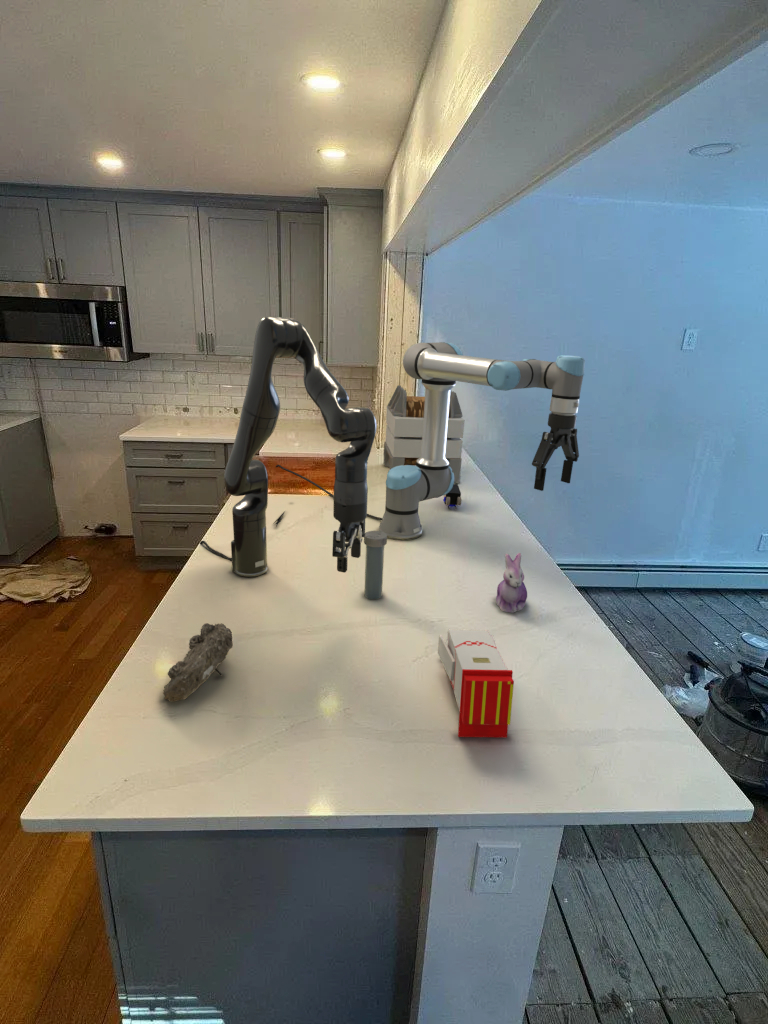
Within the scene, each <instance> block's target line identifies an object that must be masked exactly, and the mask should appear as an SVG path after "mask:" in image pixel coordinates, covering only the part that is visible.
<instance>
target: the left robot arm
mask: <svg viewBox="0 0 768 1024" xmlns="http://www.w3.org/2000/svg"><path fill="white" fill-rule="evenodd" d="M292 358H293V359H295V360H296V361H297V362H298V363H300V365H301V366H302V368H303V386H304V389H305V391H306V393H307V395H308V396H309V398H310V399H311V400H312V401H313V403H314V404H315V405H316V407H317V408H318V409H319V411H320V413H321V416H322V419H323V422H324V424H325V428H326V431H327V433H328V435H329V436H330V438H332V439H333V440H334V441H335V442H338V443H349V445H348V446H347V447H346V448H345V449H343V450H342V451H340V452H338V453H337V454H336V455H335V459H334V464H335V465H334V483H333V495H334V498H333V510H332V511H333V512H332V513H333V518H334V519H335V520H336V521H338V522H339V526H338V529H337V530H333V532H332V552H331V553H332V555H331V556H332V557H333V558H336V571H337V572H338V573H339V572H340V573H347V571H348V556H349V551H350V556H351V557H352V558H355V559H356V558H357V559H360V557H361V555H362V554H361V552H362V543H363V538H364V537H365V533H366V519H367V517H368V516H367V514H368V492H369V491H368V461H369V458H370V454H371V451H372V447H373V445H374V441H375V437H376V434H377V418H376V416H375V414H374V412H373V411H372V410H371V409H370V408H369V407H366V406H357V407H348V405H349V401H350V398H349V394H348V392H347V390H346V389H345V388H344V387H343V385H342V384H341V383H340V381H338V379H337V378H336V377H335V376H334V374H333V373H332V372H331V370H330V369H329V367H327V364H326V363H325V361H324V359H323V358H322V356H321V354H320V352H319V350H318V348H317V346H316V344H315V343H314V341H313V338H312V337H311V335H310V333H309V332H308V330H307V328H306V327H305V325H304V324H303V323H302V322H301V320H298V319H297V318H293V317H285V316H284V317H283V316H271V315H270V316H263V318H261V319H260V320H259V322H258V324H257V327H256V331H255V336H254V341H253V351H252V358H251V365H250V372H249V378H248V383H247V388H246V392H245V396H244V399H243V403H242V408H241V412H240V417H239V423H238V426H237V431H236V434H235V439H234V443H233V445H232V448H231V451H230V454H229V457H228V460H227V463H226V466H225V468H224V475H223V483H224V488H225V490H226V491H227V493H228V494H229V495H230V496H232V497H243V496H244V497H243V498H242V499H241V500H239V501H238V502H236V503H235V504H234V506H233V507H232V512H231V513H232V531H233V540H231V541H230V550H231V557H229V556H227V555H226V554H223V553H222V552H220V551H218V550H215V549H214V548H212V547H211V546H210V545H209V544H208V543H207V542H206V541H205V540H201V541H200V542H199V545H204V546H205V547H206V548H207V550H209V551H211V552H212V553H215V554H216V555H219V556H220V557H222V558H224V559H226V560H229V561H231V569H232V572H233V573H235V575H238V576H241V577H244V578H253V577H258V576H262V575H264V574H265V573H267V572H268V550H267V549H268V548H267V546H268V545H267V516H266V515H267V512H266V511H267V508H268V503H269V501H268V500H269V499H268V498H269V475H268V470H267V468H266V466H265V464H264V463H263V461H261V460H260V459H253V458H254V457H255V455H256V454H257V453H258V451H259V450H260V449H261V448H262V446H264V445H265V444H266V442H267V441H268V440H269V439H270V437H271V436H272V434H273V433H274V431H275V429H276V427H277V423H278V420H279V416H280V412H281V401H280V397H279V395H278V392H277V390H276V388H275V385H274V382H273V378H272V373H273V367H274V362H275V360H276V359H292Z"/></svg>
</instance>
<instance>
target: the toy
mask: <svg viewBox="0 0 768 1024" xmlns="http://www.w3.org/2000/svg"><path fill="white" fill-rule="evenodd" d="M446 640H447V643H446V641H445V639H444V636H443V635H442V634H439V637H438V646H437V656H438V657H439V659H440V661H441V663H442V666H443V668H444V670H445V672H446V674H447V677H448V679H449V681H450V684H451V687H452V690H453V693H454V697H455V701H456V705H457V708H458V711H459V714H458V715H459V716H458V730H457V731H458V732H457V737H458V738H508V731H509V726H510V725H511V717H512V707H513V697H514V696H513V695H514V684H515V680H514V679H513V673H514V671H513V670H512V669H508V667H507V665H506V662H505V661H504V659H503V658H502V655H501V653H500V651H499V649H498V647H497V643H496V639H495V637H494V635H493V634H491V632H490V631H489V629H467V628H466V629H465V628H463V629H461V628H460V629H459V628H448V630H447V639H446Z"/></svg>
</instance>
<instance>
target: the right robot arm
mask: <svg viewBox="0 0 768 1024" xmlns="http://www.w3.org/2000/svg"><path fill="white" fill-rule="evenodd" d="M585 365H586V360H585V358H584V357H582V356H578V355H566V354H565V355H564V354H563V355H558V356H557V357H556V360H555V361H549V360H541V359H536V358H524V359H521V360H506V359H505V360H504V359H503V360H502V359H496V358H487V357H479V356H471V355H464V354H463V352H462V350H461V349H460V347H459V346H457V345H456V344H455V343H451V342H445V341H443V342H442V341H441V342H440V341H439V342H438V341H437V342H417V343H414V344H412V345H411V346H409V347H408V348H407V350H406V351H405V353H404V355H403V358H402V366H403V369H404V372H405V373H406V374H407V375H408V376H409V377H411V378H412V379H415V380H421V385H422V386H423V387H424V389H425V392H424V397H425V404H424V419H423V434H422V449H421V457H420V458H418V459H417V461H416V466H413V465H401V466H396V467H394V468H392V469H390V468H389V470H388V472H387V474H386V479H385V504H384V505H385V507H384V508H385V509H384V513H383V515H382V517H378V516H376V515H372V514H369V513H367V517H368V518H370V519H373V520H377V521H381V522H379V526H378V531H381V532H384V533H386V535H387V539H389V540H395V541H410V540H415V539H418V538H420V537H421V536H422V535H423V525H422V524H421V518H420V515H419V507H420V506H419V505H420V502H423V501H427V500H431V499H437V498H440V497H444V495H445V494H447V493H448V492H449V491H450V490H451V489H452V487H453V484H455V483H454V473H452V469H451V467H450V466H449V462H448V461H447V459H446V458H445V453H446V441H447V428H448V416H449V404H450V392H451V391H452V389H453V388H454V387H455V386H456V384H457V382H461V383H465V384H473V385H479V386H487V387H491V388H492V389H494V390H496V391H503V392H504V391H511V390H520V389H532V388H533V389H534V388H539V389H546V390H551V398H550V404H549V413H548V418H547V419H548V420H547V426H548V427H549V428H550V431H549V432H548V431H543V432H542V435H541V440H540V442H539V445H538V447H537V449H536V452H535V454H534V457H533V460H532V461H531V466H533V467H535V475H534V477H535V478H534V485H533V489H534V490H537V491H539V492H543V491H544V489H545V484H546V483H545V482H546V476H547V468H546V466H547V465H548V463H549V461H550V459H551V457H552V456H553V454H554V453H555V451H556V450H557V449H558V448H560V447H561V449H562V452H563V455H564V458H565V459H563V463H562V468H561V469H562V470H561V475H560V482H562V483H566V484H571V478H572V472H573V466H574V463H576V462H578V461H579V457H580V453H579V444H578V428H576V423H577V419H578V416H577V414H578V412H579V411H578V410H579V406H580V397H581V391H582V385H583V380H584V376H585ZM275 468H280V469H282V470H284V471H286V472H288V473H291V474H293V475H294V476H296V477H298V478H301V479H303V480H304V481H306V482H307V483H309V484H311V485H313V486H315V487H316V488H318V489H320V490H321V491H322V492H325V493H326V494H327V495H329V496H330V497H332V498H333V499H334V493H331V491H328V490H327V489H325V488H324V487H322V486H320V485H319V484H318V483H316V482H314V481H312V480H311V479H309V478H307V477H305V476H303V475H301V474H300V473H297V472H295V471H292V470H290V469H288V468H285V467H284V466H282V465H280V464H276V465H275Z"/></svg>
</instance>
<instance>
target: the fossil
mask: <svg viewBox="0 0 768 1024" xmlns="http://www.w3.org/2000/svg"><path fill="white" fill-rule="evenodd" d="M233 638H234V637H233V631H232V630H231V628H229V627H227V626H226V625H225V624H224V623H221V622H220V623H217V624H216V623H215V624H212V623H211V624H210V623H207V622H206V623H203V625H202V626H201V628H200V633H199V634H195V635H192V637H191V638H190V639H189V643H188V645H189V646H188V649H189V650H188V652H187V653H186V654H185V656H184V658H183V661H182V660H179V661H177V662H176V663H175V664H173V665H171V667H170V668H169V669H168V671H167V676H168V677H169V679H170V680H169V681H168V682H167V683H166V684H165V685H164V686H163V688H164V689H163V690H162V691H163V693H162V694H163V697H164V698H163V699H164V700H168V701H169V702H171V703H173V702H176V701H177V702H178V701H182V700H183V701H184V700H186V699H187V698H188V697H189V696H191V694H192V693H194V692H195V691H197V690H198V688H200V687H201V686H202V685H203V684H204V683H205V682H206V681H208V679H209V678H210V676H211V674H212V673H214V672H216V673H217V674H218V675H219V676H223V673H222V672H221V671H220V670H219V669H218V666H219V664H222V663H223V662H224V661H225V660H226V658H227V656H228V654H229V652H230V650H231V649H232V648H233V647H234V641H233Z"/></svg>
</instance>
